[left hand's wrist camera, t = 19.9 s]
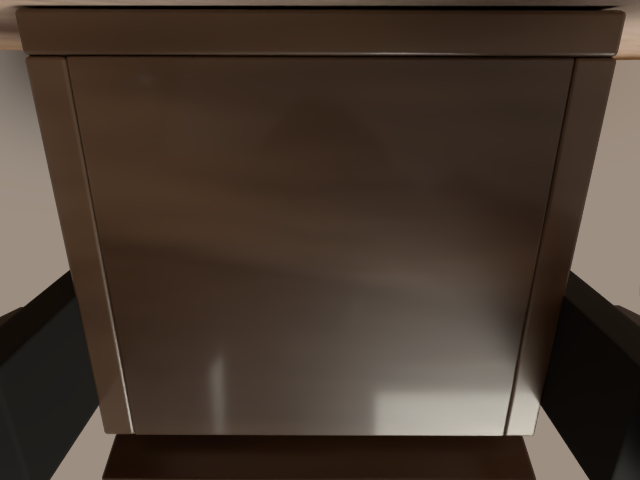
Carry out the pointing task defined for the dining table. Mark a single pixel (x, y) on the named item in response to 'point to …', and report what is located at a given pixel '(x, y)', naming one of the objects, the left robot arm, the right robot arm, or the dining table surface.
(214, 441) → the lid
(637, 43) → the dining table surface
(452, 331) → the chest
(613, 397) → the left robot arm
